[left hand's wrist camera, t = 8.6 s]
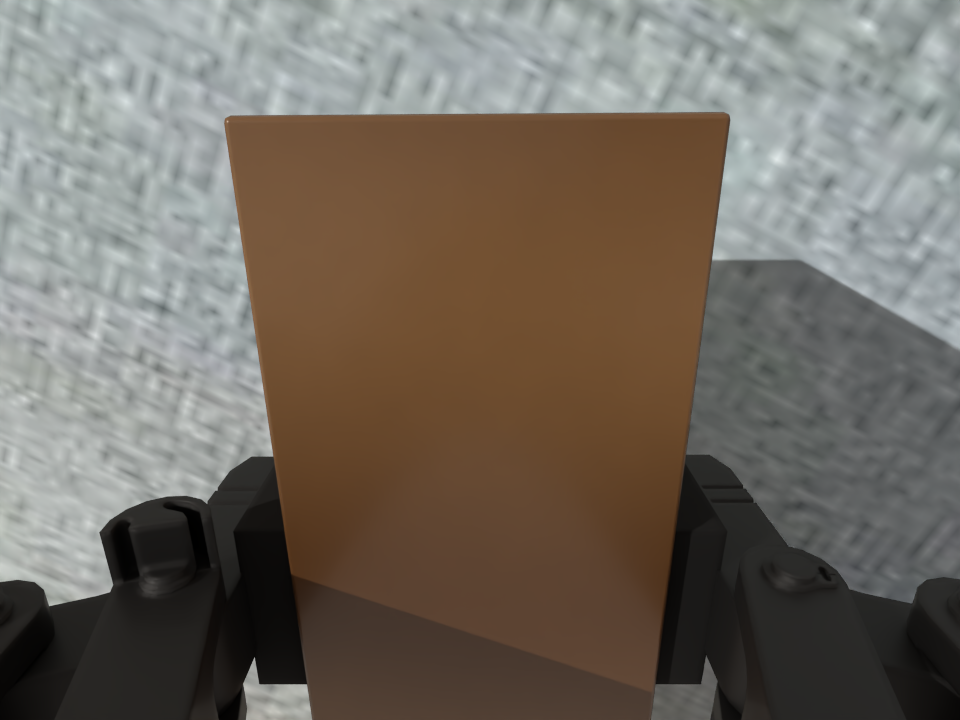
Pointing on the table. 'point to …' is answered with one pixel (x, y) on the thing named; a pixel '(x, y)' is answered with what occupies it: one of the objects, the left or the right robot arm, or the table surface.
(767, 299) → the table surface
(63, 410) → the table surface
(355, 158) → the post
